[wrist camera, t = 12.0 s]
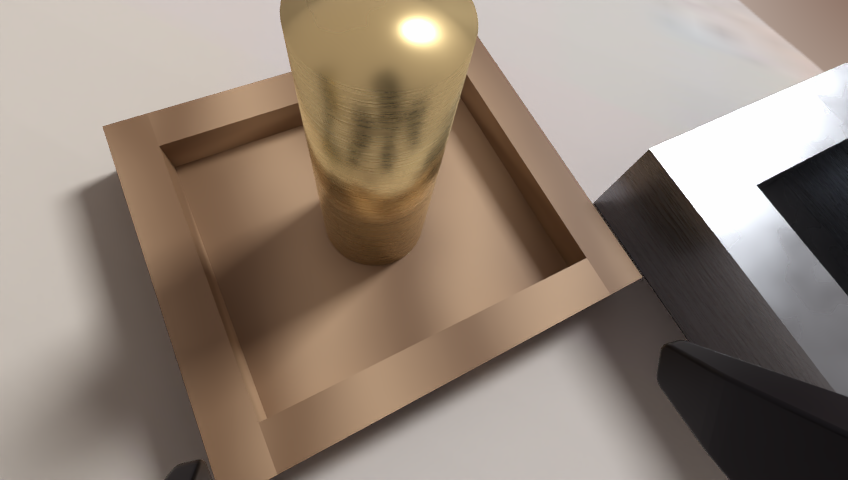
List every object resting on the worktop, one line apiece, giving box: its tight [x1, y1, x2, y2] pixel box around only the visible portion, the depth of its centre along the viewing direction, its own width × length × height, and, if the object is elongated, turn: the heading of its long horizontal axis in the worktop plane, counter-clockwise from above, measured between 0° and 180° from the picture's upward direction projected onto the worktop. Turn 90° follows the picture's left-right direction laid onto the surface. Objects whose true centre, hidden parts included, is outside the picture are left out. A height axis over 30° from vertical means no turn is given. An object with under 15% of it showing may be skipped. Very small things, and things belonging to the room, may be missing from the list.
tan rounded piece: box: [280, 0, 478, 266], centre depth 14 cm, size 4×4×10 cm
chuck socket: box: [594, 63, 848, 397], centre depth 19 cm, size 12×12×4 cm
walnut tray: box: [103, 36, 642, 480], centre depth 18 cm, size 16×14×2 cm
